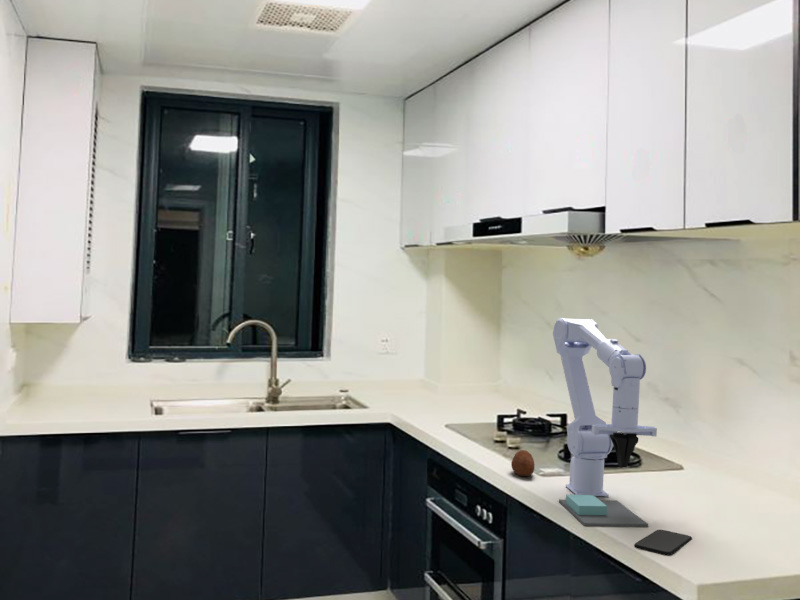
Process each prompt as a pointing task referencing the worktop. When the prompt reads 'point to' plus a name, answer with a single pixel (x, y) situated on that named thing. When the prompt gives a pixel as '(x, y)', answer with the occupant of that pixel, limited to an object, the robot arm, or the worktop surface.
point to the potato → (523, 463)
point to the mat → (609, 516)
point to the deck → (586, 505)
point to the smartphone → (663, 542)
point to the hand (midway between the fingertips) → (622, 466)
